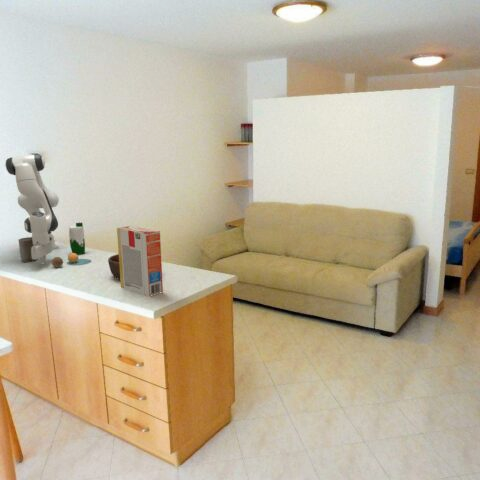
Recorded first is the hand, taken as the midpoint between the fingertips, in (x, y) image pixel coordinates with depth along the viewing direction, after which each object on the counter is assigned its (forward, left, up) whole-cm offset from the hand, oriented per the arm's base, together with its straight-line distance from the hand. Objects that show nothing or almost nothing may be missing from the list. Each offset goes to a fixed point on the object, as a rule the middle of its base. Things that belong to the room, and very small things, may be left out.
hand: (43, 263), depth 269 cm
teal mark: (0, +20, -2) cm, 20 cm away
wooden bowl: (+42, +45, -2) cm, 62 cm away
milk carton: (-24, +21, -2) cm, 32 cm away
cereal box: (+69, +44, -2) cm, 82 cm away
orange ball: (0, +17, +1) cm, 17 cm away
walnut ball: (+7, +8, +1) cm, 10 cm away
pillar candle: (-18, -8, -2) cm, 20 cm away
